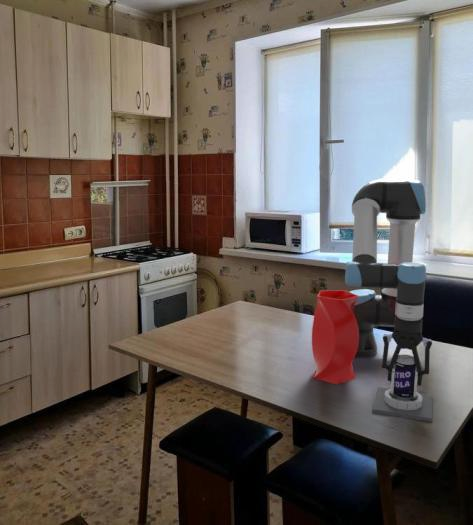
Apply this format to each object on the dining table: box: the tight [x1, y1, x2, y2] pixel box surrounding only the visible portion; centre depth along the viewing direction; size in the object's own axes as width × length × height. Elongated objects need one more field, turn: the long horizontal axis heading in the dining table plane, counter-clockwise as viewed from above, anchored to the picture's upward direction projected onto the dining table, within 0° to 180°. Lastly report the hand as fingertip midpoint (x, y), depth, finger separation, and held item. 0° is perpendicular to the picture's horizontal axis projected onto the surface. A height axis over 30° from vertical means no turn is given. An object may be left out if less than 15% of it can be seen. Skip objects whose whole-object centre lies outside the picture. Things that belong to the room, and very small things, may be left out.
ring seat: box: [371, 386, 433, 423], centre depth 149 cm, size 16×16×3 cm
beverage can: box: [393, 354, 417, 399], centre depth 147 cm, size 6×6×12 cm
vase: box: [311, 289, 359, 385], centre depth 168 cm, size 15×14×28 cm
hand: (403, 393), depth 148 cm, fingers closed on beverage can, 6 cm apart
